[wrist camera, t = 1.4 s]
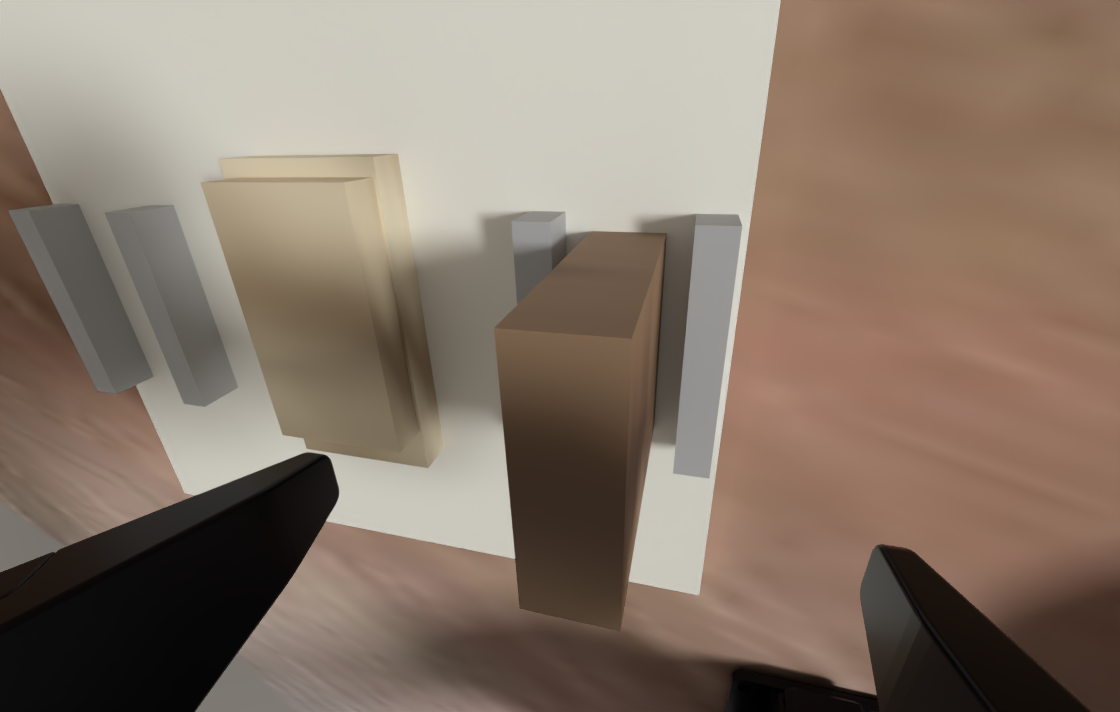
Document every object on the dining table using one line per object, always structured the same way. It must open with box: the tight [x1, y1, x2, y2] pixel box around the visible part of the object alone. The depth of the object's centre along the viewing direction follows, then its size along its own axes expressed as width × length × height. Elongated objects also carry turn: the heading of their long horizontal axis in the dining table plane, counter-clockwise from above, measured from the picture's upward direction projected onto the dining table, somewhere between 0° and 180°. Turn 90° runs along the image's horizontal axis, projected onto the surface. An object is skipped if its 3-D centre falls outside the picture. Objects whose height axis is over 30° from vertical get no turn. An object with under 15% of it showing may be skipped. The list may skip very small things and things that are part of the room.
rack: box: [0, 0, 781, 595], centre depth 16 cm, size 20×24×2 cm
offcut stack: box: [200, 154, 444, 468], centre depth 15 cm, size 10×5×2 cm, turn 1°
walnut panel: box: [494, 231, 667, 631], centre depth 11 cm, size 6×2×7 cm, turn 1°
